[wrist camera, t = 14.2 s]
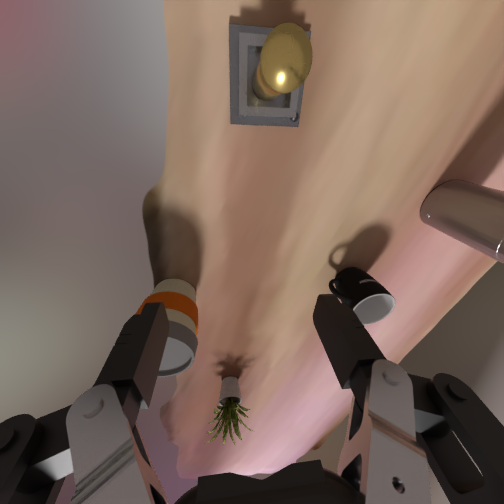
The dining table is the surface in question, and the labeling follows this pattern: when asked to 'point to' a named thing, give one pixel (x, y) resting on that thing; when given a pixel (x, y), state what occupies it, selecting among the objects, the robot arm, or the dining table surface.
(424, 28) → the dining table surface
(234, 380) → the house plant
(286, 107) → the square tray with knobs
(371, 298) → the mug
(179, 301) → the reusable coffee cup
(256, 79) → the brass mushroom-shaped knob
